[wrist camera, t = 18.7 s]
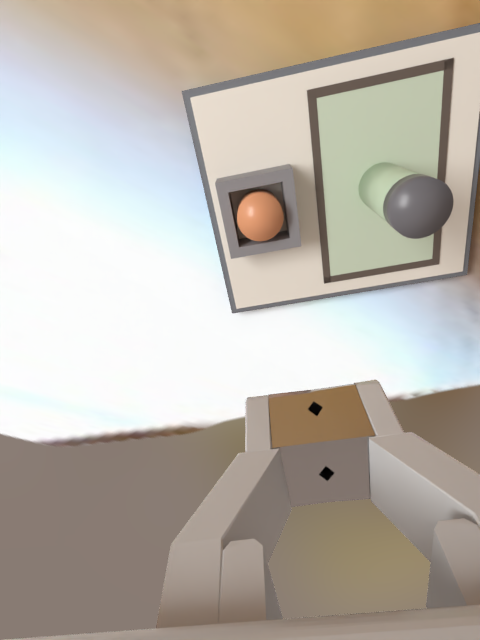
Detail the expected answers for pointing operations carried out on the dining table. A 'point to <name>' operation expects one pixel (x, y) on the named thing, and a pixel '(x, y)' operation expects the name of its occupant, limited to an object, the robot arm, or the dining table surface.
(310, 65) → the cream board with holder
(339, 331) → the dining table surface
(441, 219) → the marker
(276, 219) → the button
